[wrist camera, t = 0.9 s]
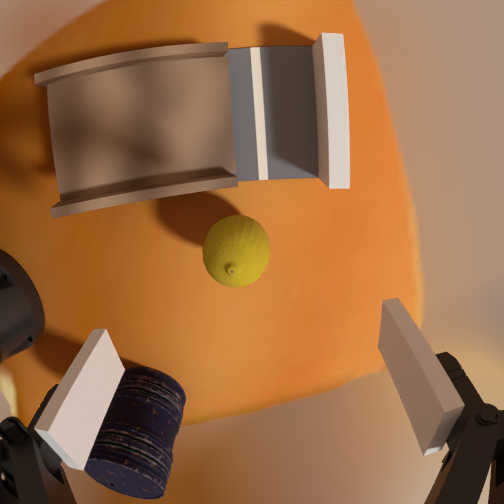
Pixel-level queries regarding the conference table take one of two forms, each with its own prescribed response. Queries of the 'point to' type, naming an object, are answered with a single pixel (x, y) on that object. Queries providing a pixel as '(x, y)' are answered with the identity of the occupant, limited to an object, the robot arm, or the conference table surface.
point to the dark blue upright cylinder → (138, 434)
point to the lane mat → (275, 112)
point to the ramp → (140, 126)
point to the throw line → (259, 113)
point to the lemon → (236, 251)
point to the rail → (332, 110)
